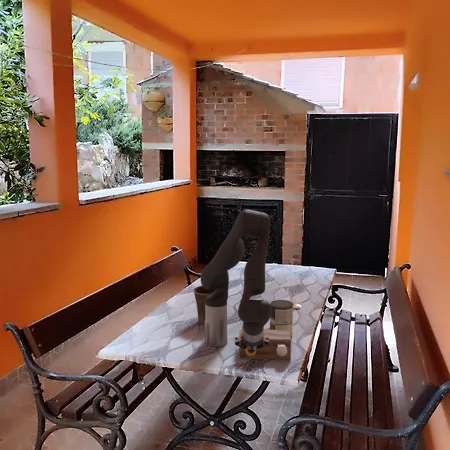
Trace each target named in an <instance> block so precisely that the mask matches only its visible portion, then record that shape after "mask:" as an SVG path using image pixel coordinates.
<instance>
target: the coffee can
mask: <svg viewBox="0 0 450 450" xmlns="http://www.w3.org/2000/svg"><path fill="white" fill-rule="evenodd" d="M269 303H270V305H271V309H272V313H271V317H270V319H269V330H288V331H289V334H290V337H292V336H293V333H294V332H293V329H294V328H293V321H294V318H293V317H294V316H293V315H294V309H293V303H292V302H291V300H286V299H276V300H272V301H270V302H269Z"/></svg>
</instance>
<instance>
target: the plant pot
mask: <svg viewBox="0 0 450 450" xmlns="http://www.w3.org/2000/svg"><path fill="white" fill-rule="evenodd" d="M215 290H216V289H205V288H204V287H203V286H202V285H199V286H196V287H194V288H193V290H192V291H193V293H194V299H195V303H196V311H197V319H198V320H197V321H198V324H200V325H203V326H205V299H206V297H207V296H208V295H210V294H212V293H213V292H214V291H215Z"/></svg>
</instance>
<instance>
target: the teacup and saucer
mask: <svg viewBox="0 0 450 450" xmlns="http://www.w3.org/2000/svg"><path fill="white" fill-rule="evenodd" d="M290 302H292V303H293V310H295V309H296V310H297V309H301V308H302V305H301V304H299V303H297V302H298V301H297V298H290Z"/></svg>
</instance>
